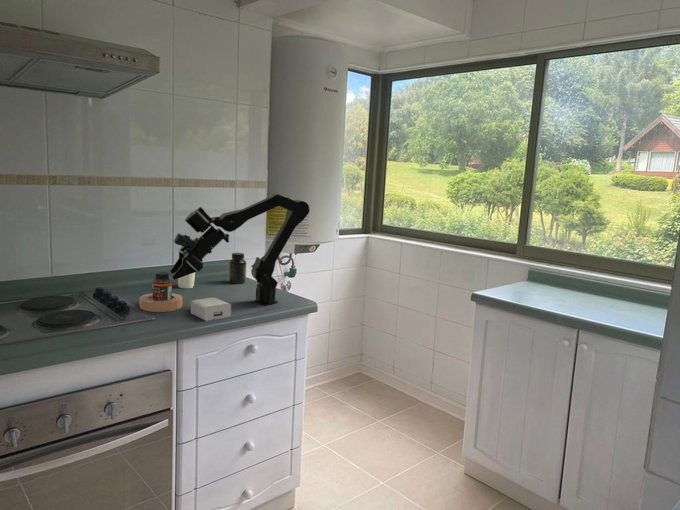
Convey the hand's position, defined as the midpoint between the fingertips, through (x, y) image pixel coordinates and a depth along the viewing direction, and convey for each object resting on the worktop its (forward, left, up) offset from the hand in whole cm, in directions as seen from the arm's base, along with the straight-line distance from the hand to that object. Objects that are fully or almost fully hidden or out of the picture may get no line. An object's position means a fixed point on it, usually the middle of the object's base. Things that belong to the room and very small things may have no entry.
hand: (172, 275), depth 169 cm
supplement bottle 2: (+12, -41, -10) cm, 44 cm away
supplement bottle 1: (+2, +3, -10) cm, 11 cm away
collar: (+2, +3, -10) cm, 11 cm away
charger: (-13, -3, -11) cm, 18 cm away
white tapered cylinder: (+19, -21, -10) cm, 30 cm away
